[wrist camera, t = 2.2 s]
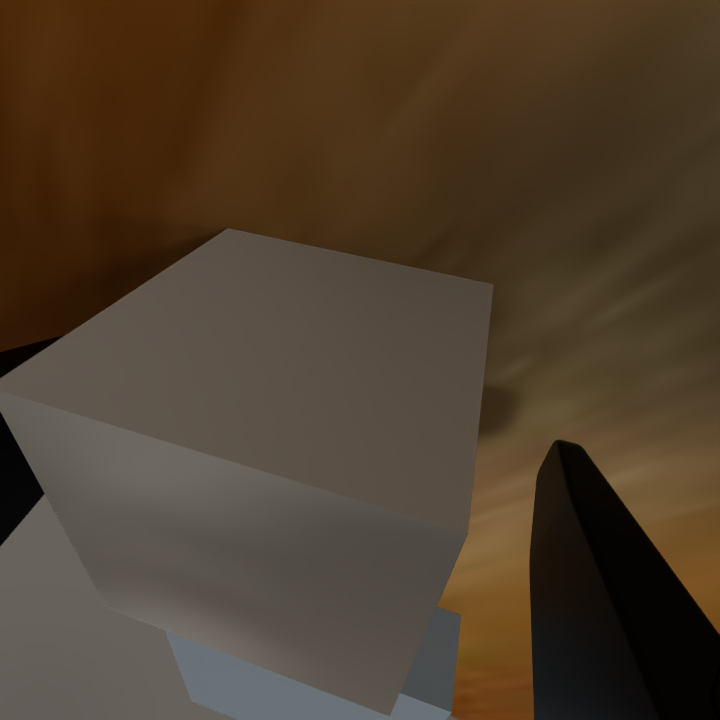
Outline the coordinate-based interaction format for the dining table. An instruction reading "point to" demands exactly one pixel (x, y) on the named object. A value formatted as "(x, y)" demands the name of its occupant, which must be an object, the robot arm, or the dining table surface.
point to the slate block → (310, 705)
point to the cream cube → (269, 453)
